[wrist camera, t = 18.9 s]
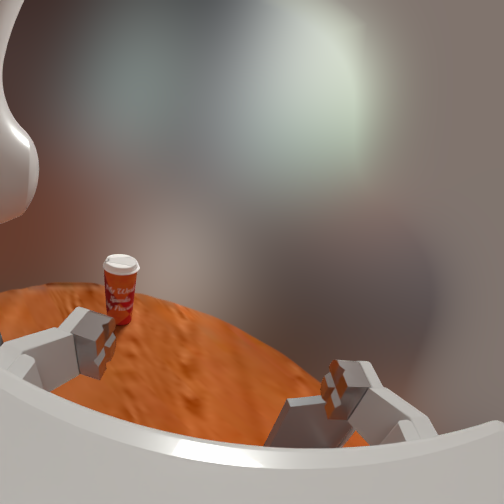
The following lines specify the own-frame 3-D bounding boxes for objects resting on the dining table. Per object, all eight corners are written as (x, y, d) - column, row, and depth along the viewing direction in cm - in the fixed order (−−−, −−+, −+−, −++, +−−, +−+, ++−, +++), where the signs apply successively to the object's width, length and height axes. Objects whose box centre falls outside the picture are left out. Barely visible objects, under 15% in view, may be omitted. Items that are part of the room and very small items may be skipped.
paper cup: (102, 327, 54) (102, 267, 50) (103, 308, 61) (103, 252, 56) (138, 328, 58) (141, 270, 54) (135, 309, 64) (139, 254, 60)
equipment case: (280, 544, 21) (338, 506, 16) (253, 465, 34) (286, 398, 29) (358, 519, 25) (427, 466, 20) (323, 453, 38) (370, 387, 32)
